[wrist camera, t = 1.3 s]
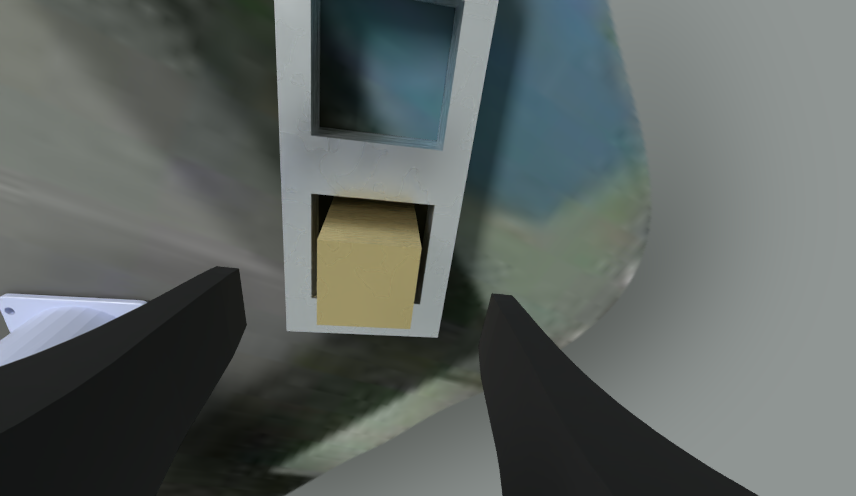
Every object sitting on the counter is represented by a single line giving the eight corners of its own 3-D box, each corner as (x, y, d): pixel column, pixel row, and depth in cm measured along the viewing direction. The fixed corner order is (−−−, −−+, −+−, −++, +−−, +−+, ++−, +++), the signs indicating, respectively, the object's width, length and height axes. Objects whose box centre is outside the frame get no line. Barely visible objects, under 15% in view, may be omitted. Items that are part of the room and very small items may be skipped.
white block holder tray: (433, 313, 26) (437, 337, 24) (295, 306, 24) (286, 331, 22) (494, -50, 17) (510, -66, 15) (286, -91, 16) (270, -114, 14)
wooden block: (405, 268, 24) (410, 329, 19) (333, 264, 23) (316, 324, 18) (413, 202, 22) (421, 248, 17) (334, 194, 22) (317, 240, 16)
